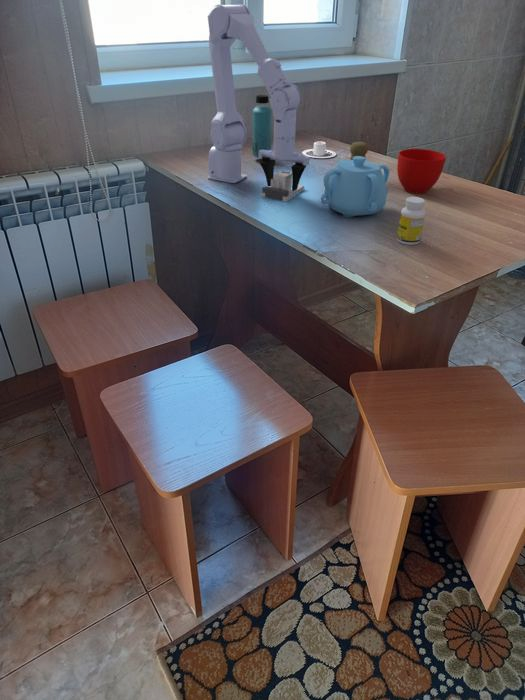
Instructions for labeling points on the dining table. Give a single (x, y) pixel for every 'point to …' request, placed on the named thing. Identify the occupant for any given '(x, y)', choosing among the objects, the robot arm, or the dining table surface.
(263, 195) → the socket
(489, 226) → the dining table surface
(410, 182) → the ceramic cup
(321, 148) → the candle holder
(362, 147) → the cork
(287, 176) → the plug block
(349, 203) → the decorative pot
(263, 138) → the beverage bottle
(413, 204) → the supplement bottle
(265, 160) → the robot arm
